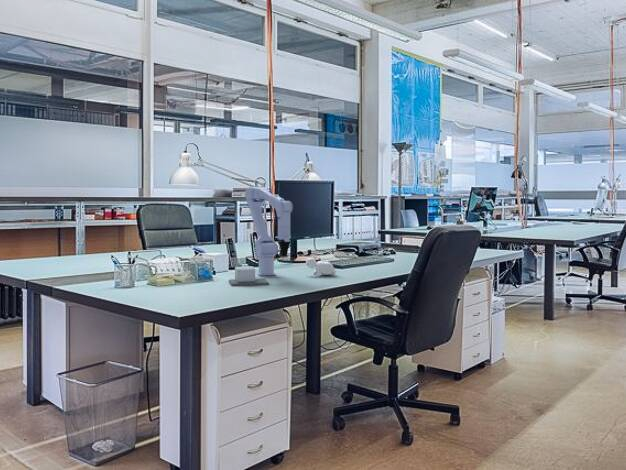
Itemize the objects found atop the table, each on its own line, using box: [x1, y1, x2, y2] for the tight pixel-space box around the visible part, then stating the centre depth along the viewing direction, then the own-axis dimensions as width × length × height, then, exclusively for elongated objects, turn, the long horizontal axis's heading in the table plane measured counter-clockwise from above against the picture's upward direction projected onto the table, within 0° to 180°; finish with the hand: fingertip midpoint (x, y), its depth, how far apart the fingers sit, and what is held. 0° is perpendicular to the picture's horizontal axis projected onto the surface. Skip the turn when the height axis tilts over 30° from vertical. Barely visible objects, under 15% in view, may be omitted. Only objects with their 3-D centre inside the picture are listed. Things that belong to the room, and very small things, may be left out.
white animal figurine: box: [305, 257, 337, 278], centre depth 283 cm, size 9×8×15 cm
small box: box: [234, 265, 256, 282], centre depth 259 cm, size 8×6×10 cm
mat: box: [228, 278, 270, 287], centre depth 257 cm, size 12×16×1 cm
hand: (284, 256), depth 271 cm, fingers closed
